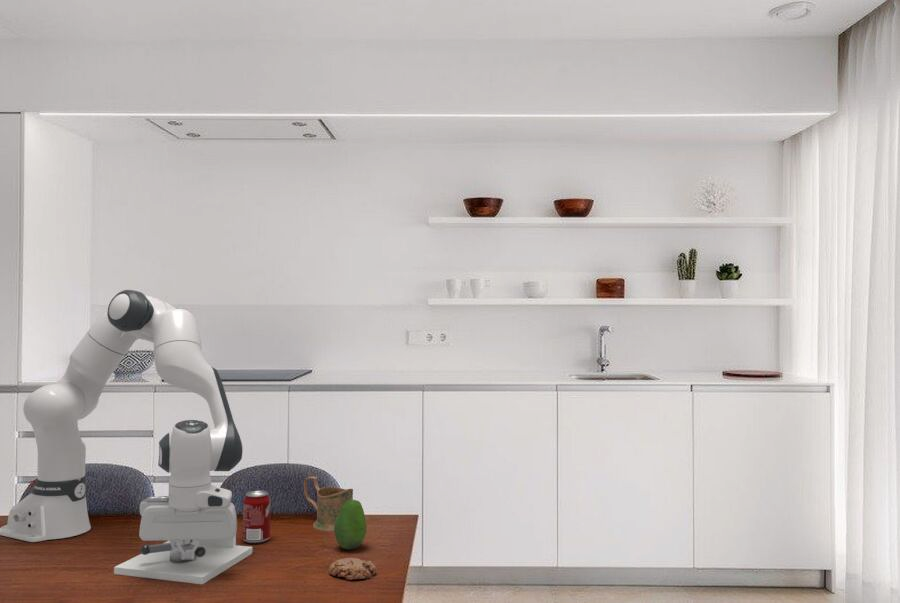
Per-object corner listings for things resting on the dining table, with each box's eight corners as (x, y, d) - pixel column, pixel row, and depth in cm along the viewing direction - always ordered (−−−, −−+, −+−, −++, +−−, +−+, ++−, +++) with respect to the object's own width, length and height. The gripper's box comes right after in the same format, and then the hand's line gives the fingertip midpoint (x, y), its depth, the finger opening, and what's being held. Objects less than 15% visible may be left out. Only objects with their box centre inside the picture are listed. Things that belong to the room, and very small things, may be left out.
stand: (113, 574, 161) (114, 530, 161) (172, 544, 181) (173, 506, 181) (202, 584, 155) (203, 539, 156) (252, 553, 176) (253, 513, 176)
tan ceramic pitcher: (319, 513, 211) (320, 472, 211) (364, 524, 201) (365, 480, 201) (289, 522, 202) (289, 479, 202) (334, 534, 191) (335, 488, 192)
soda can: (262, 545, 181) (263, 497, 182) (237, 543, 183) (238, 495, 183) (274, 537, 188) (275, 490, 188) (250, 535, 189) (250, 489, 190)
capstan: (173, 576, 155) (174, 553, 155) (137, 563, 162) (138, 541, 162) (230, 557, 167) (231, 535, 167) (194, 546, 175) (194, 525, 175)
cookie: (331, 566, 168) (331, 553, 168) (377, 567, 168) (377, 554, 168) (325, 582, 158) (325, 568, 158) (374, 582, 158) (375, 568, 159)
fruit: (326, 548, 180) (327, 499, 180) (351, 541, 186) (352, 494, 186) (347, 556, 175) (348, 505, 175) (372, 548, 181) (373, 499, 181)
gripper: (136, 500, 156) (134, 565, 156) (235, 498, 159) (233, 562, 159) (143, 493, 162) (142, 555, 162) (239, 491, 165) (237, 552, 165)
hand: (188, 558), depth 160 cm, fingers closed
